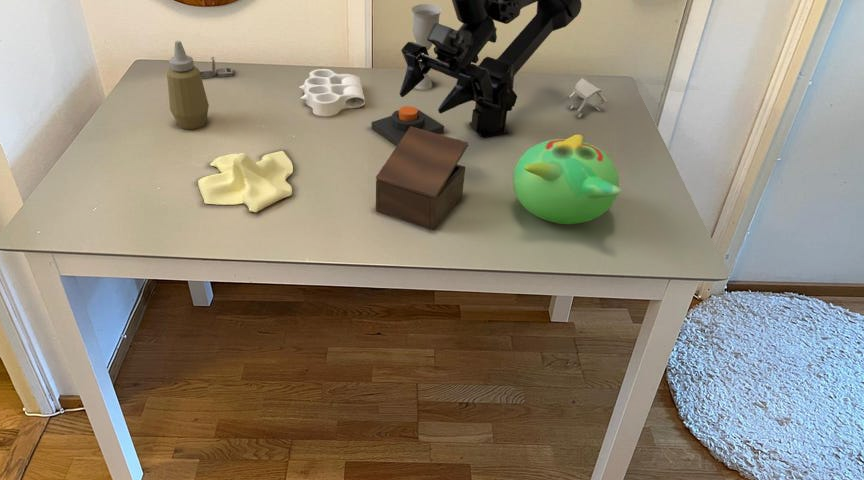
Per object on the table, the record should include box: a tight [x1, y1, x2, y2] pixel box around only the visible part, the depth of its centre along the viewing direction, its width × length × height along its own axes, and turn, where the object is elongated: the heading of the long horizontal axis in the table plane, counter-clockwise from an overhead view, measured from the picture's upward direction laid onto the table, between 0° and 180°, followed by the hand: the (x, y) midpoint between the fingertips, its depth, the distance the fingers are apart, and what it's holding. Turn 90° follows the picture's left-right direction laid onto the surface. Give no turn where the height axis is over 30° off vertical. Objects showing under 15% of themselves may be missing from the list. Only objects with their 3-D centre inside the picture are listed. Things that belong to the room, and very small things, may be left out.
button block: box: [371, 107, 445, 147], centre depth 146 cm, size 12×10×4 cm
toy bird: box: [512, 133, 623, 225], centre depth 119 cm, size 18×17×15 cm
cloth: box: [197, 150, 294, 213], centre depth 129 cm, size 22×19×6 cm
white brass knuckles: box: [298, 68, 366, 118], centre depth 157 cm, size 3×18×15 cm
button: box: [398, 105, 419, 121], centre depth 145 cm, size 4×4×2 cm
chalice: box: [411, 3, 443, 90], centre depth 159 cm, size 7×7×18 cm
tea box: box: [375, 163, 466, 231], centre depth 124 cm, size 13×12×6 cm
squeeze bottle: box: [166, 40, 210, 130], centre depth 142 cm, size 8×8×18 cm
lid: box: [375, 126, 469, 199], centre depth 121 cm, size 13×12×1 cm
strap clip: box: [200, 56, 234, 79], centre depth 165 cm, size 8×3×4 cm, turn 104°
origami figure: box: [568, 77, 608, 118], centre depth 156 cm, size 12×8×5 cm
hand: (419, 103), depth 125 cm, fingers open, 9 cm apart
